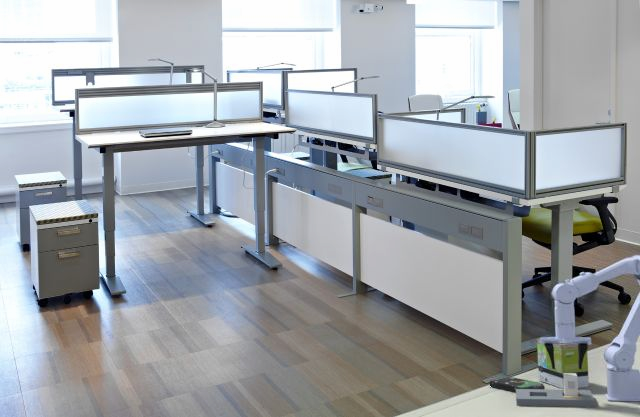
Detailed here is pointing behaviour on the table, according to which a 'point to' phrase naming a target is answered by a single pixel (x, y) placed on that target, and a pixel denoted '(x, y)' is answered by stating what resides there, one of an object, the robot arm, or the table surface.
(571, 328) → the robot arm
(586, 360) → the tea box
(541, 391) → the panel
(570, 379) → the plug
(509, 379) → the disk drive
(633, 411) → the table surface
